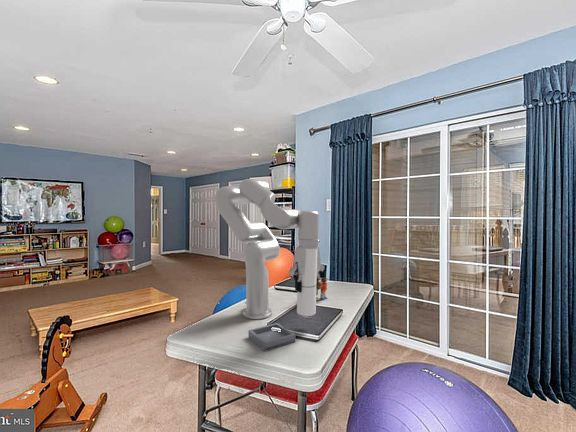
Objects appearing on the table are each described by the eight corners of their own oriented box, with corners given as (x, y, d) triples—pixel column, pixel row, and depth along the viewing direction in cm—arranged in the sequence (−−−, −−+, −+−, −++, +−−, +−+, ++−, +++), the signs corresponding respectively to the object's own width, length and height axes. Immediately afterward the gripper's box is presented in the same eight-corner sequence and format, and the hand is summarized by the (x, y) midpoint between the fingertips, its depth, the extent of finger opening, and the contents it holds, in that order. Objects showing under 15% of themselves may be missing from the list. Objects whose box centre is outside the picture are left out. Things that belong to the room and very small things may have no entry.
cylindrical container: (314, 309, 117) (316, 245, 115) (316, 316, 110) (318, 249, 108) (296, 308, 117) (297, 245, 115) (297, 315, 109) (299, 248, 108)
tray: (248, 337, 106) (248, 330, 106) (277, 329, 112) (277, 322, 112) (264, 351, 96) (264, 343, 96) (295, 341, 102) (295, 334, 102)
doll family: (312, 310, 133) (312, 281, 132) (293, 306, 138) (293, 278, 137) (329, 297, 151) (329, 271, 151) (312, 294, 156) (312, 269, 156)
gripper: (319, 240, 120) (318, 284, 121) (283, 243, 110) (282, 290, 111) (332, 243, 113) (330, 289, 114) (294, 246, 104) (293, 296, 105)
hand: (306, 289), depth 113 cm, fingers closed on cylindrical container, 7 cm apart
